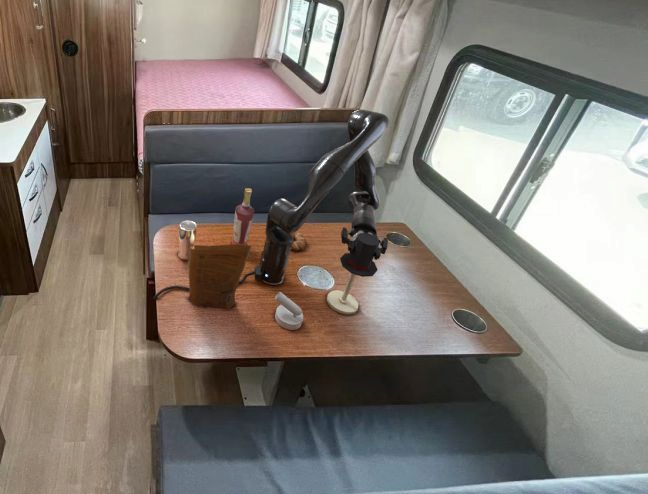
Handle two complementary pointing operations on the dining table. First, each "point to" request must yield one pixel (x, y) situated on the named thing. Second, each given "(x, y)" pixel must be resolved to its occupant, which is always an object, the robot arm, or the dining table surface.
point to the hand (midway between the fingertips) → (364, 254)
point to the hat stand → (343, 299)
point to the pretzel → (298, 241)
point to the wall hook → (288, 313)
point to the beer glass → (186, 238)
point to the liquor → (243, 220)
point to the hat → (362, 256)
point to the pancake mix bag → (216, 274)
